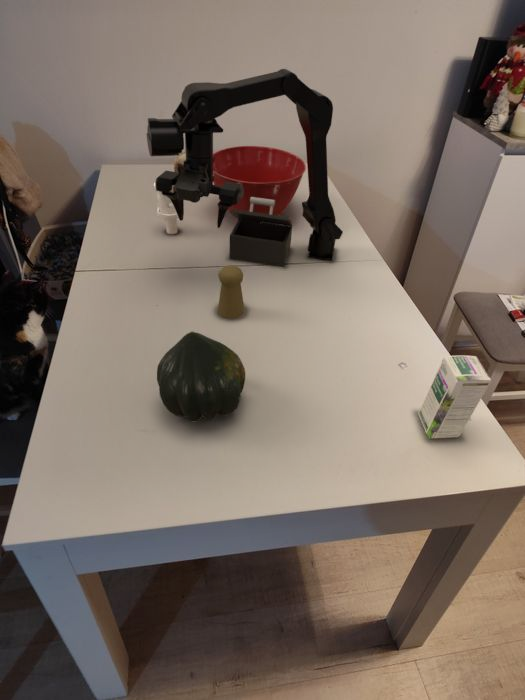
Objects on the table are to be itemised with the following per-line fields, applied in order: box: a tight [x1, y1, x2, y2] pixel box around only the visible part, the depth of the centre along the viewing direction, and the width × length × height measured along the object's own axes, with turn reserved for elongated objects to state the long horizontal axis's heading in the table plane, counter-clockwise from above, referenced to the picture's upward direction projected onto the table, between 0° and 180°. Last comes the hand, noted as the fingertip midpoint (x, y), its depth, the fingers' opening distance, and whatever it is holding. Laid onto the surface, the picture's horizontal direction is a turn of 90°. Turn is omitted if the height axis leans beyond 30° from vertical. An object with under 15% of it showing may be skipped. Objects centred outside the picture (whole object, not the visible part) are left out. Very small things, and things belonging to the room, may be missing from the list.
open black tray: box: [229, 219, 293, 268], centre depth 118 cm, size 10×15×7 cm, turn 78°
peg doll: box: [217, 264, 245, 320], centre depth 97 cm, size 6×6×11 cm
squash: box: [156, 330, 246, 423], centre depth 77 cm, size 14×15×15 cm
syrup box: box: [417, 354, 492, 439], centre depth 74 cm, size 6×6×14 cm
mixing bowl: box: [213, 145, 307, 222], centre depth 133 cm, size 28×28×16 cm
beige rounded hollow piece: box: [173, 150, 186, 174], centre depth 152 cm, size 9×8×10 cm
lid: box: [229, 197, 293, 227], centre depth 113 cm, size 10×15×5 cm
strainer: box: [153, 181, 179, 235], centre depth 122 cm, size 7×7×15 cm
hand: (200, 223), depth 103 cm, fingers open, 9 cm apart
